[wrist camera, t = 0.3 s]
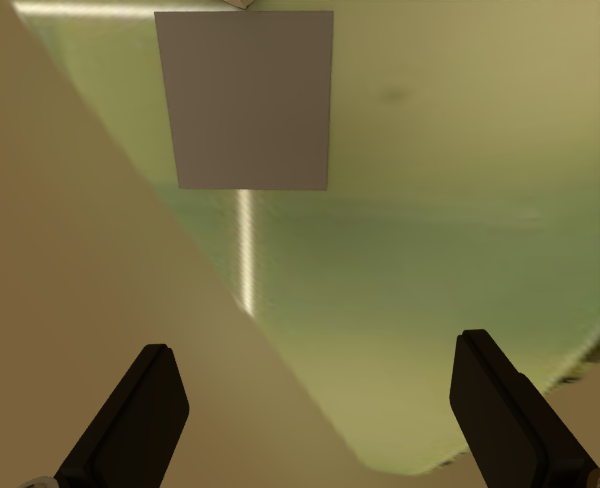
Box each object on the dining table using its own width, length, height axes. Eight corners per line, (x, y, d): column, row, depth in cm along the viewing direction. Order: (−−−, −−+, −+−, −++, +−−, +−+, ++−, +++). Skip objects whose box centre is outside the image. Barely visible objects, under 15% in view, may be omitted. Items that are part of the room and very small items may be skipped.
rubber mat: (155, 12, 33) (153, 11, 32) (332, 12, 32) (333, 11, 32) (180, 187, 40) (179, 188, 39) (326, 189, 39) (326, 190, 39)
